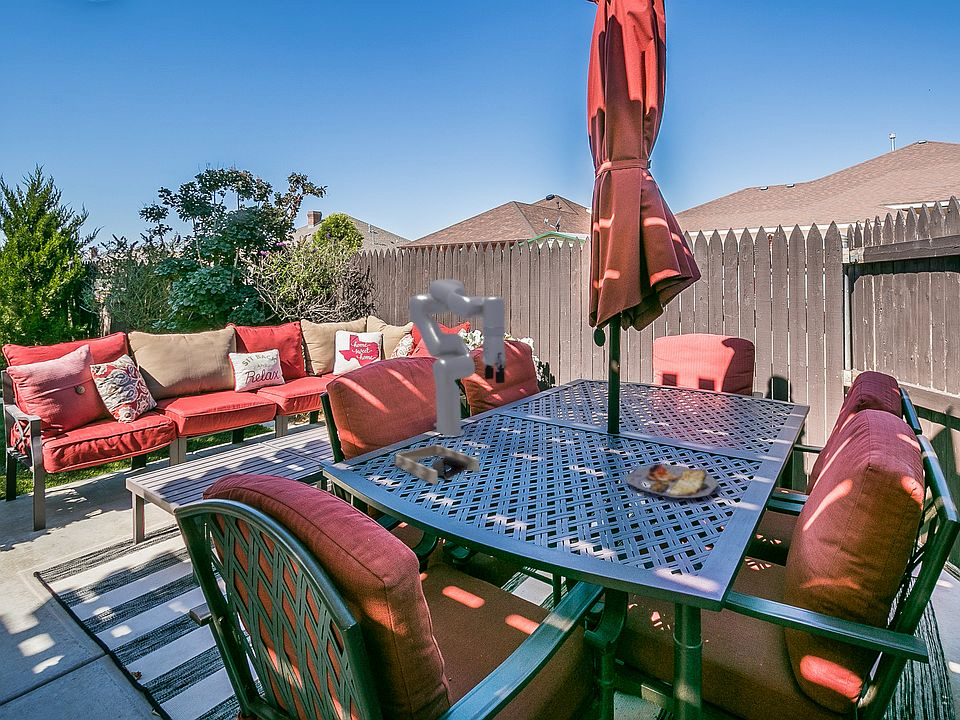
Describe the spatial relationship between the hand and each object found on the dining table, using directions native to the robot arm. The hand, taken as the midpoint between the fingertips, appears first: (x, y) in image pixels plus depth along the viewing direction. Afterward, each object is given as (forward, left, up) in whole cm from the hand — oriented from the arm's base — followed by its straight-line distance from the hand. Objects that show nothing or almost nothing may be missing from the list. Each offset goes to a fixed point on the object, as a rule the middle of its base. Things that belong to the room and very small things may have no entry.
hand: (494, 380), depth 179 cm
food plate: (+60, +14, -26) cm, 67 cm away
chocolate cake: (+7, -27, -26) cm, 38 cm away
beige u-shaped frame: (+2, -27, -25) cm, 37 cm away
